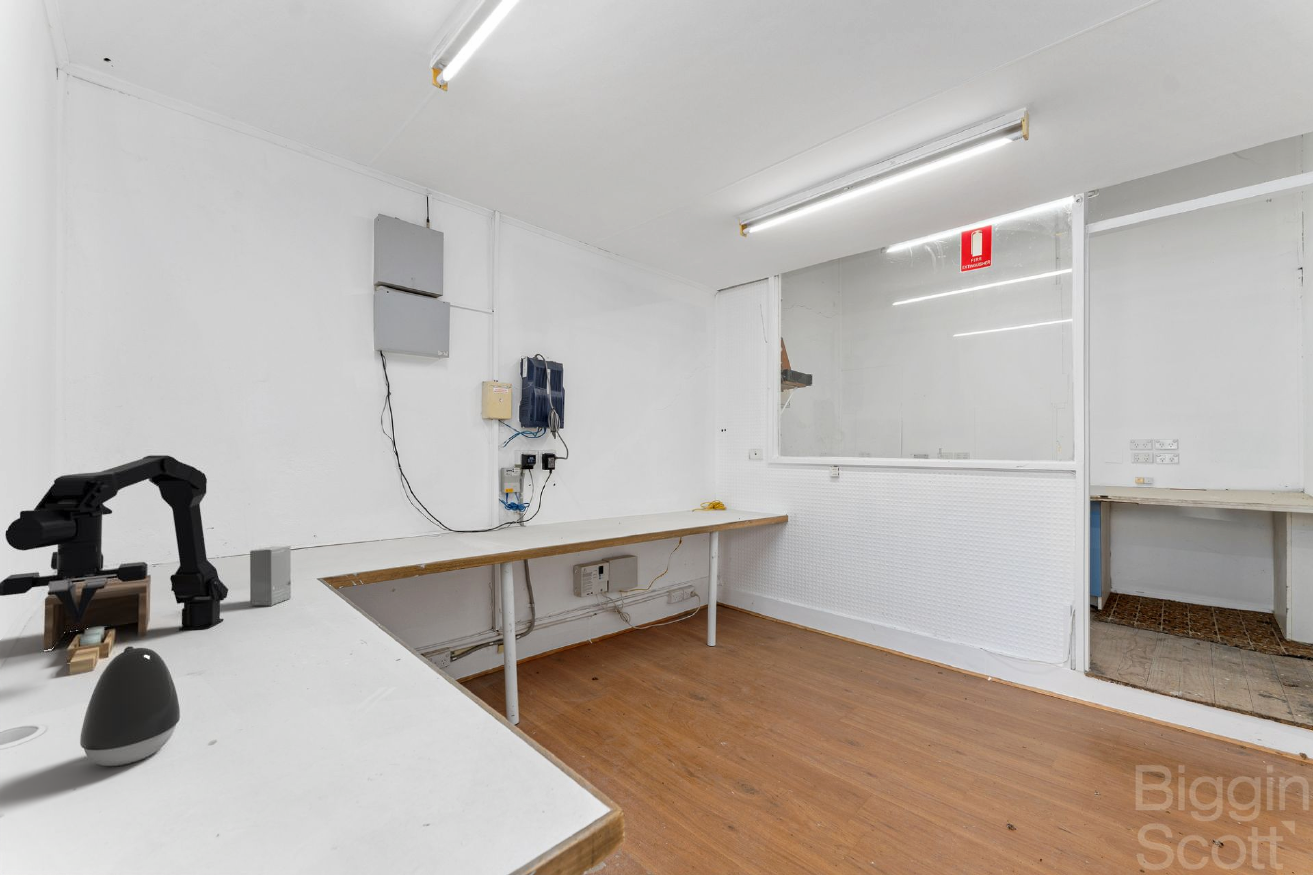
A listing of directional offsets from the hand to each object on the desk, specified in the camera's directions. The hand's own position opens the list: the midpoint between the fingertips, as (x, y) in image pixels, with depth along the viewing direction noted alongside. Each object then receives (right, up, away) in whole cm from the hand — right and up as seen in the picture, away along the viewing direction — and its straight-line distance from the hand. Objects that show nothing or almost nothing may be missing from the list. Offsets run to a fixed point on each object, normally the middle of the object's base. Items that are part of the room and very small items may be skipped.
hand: (77, 623), depth 101 cm
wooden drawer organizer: (-23, -12, +26) cm, 36 cm away
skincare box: (-2, -13, +53) cm, 54 cm away
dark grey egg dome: (+35, -11, -25) cm, 44 cm away
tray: (-10, -11, +11) cm, 19 cm away
